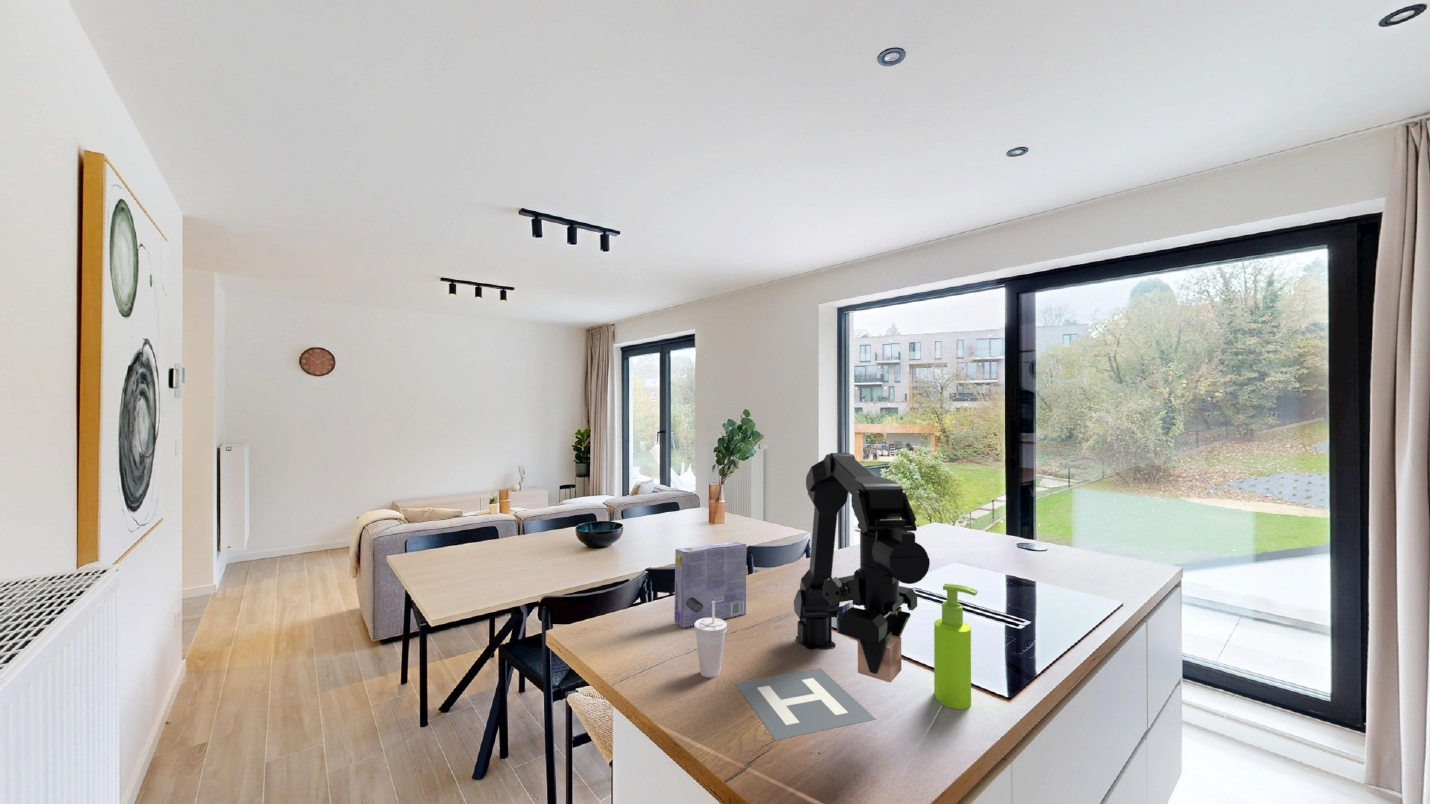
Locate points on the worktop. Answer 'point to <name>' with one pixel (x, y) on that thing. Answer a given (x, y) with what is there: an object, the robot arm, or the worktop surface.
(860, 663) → the terracotta block
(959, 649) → the soap dispenser
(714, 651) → the smoothie
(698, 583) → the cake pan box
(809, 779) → the worktop surface
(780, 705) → the board
